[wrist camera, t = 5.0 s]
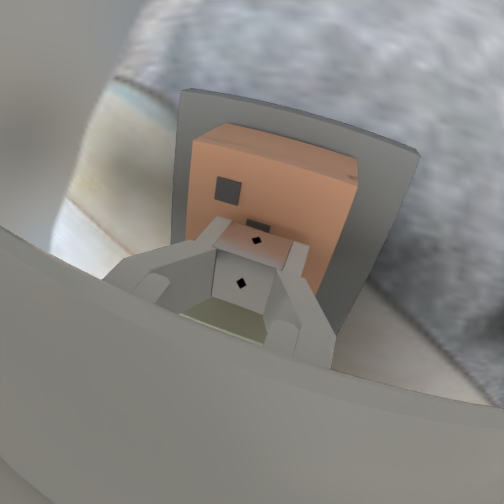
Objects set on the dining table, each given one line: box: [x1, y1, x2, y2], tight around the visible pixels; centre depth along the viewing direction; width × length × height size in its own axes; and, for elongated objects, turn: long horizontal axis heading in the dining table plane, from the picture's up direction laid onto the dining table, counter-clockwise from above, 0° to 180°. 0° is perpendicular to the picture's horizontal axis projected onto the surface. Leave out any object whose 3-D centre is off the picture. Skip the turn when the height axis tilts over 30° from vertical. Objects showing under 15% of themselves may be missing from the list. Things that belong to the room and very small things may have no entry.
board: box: [171, 88, 421, 335], centre depth 17 cm, size 21×10×2 cm, turn 170°
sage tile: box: [179, 296, 267, 347], centre depth 15 cm, size 5×5×3 cm
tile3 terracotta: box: [185, 123, 358, 296], centre depth 12 cm, size 5×5×3 cm
